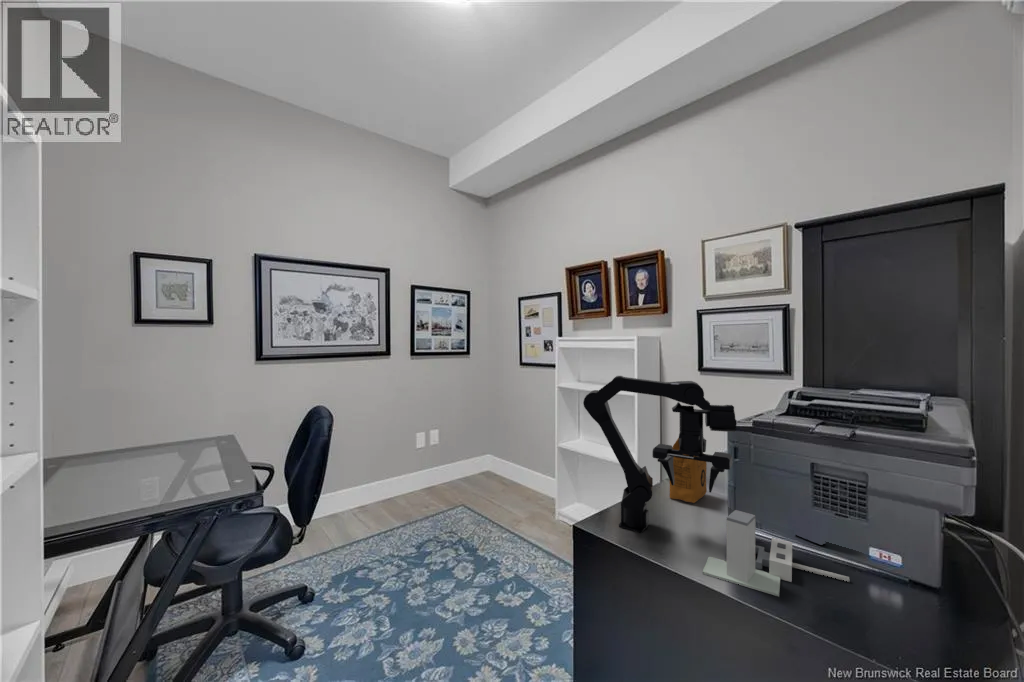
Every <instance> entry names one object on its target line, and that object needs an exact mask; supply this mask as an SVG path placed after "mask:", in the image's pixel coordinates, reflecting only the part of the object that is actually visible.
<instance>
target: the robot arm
mask: <svg viewBox="0 0 1024 682" xmlns="http://www.w3.org/2000/svg"><path fill="white" fill-rule="evenodd" d="M703 389H704V388H703V387H701V385H700V384H699V383H697V382H696V381H692V380H681V381H660V380H659V381H658V380H650V379H644V378H643V379H642V378H633V377H627V376H623V375H616V376H614V377H613V378H612V379H611V381H609V382H608V383H607V384H605V385H603V387H601V388H600V389H594V390H591V391H590V392H588V394H586V396H585V397H584V399H583V407H584V409H585V411H587V413H588V415H590V417H591V418H592V419H593V420H594V421H595V422H596V423H597V425H598V426H599V427H600V429H601V431H602V432H603V433H602V434H604V436H605V438H606V440H607V442H608V444H609V446H610V448H611V449H612V452H613V453H614V455H615V457H616V459H617V461H618V463H619V465H620V467H621V469H622V471H623V473H624V477H625V482H626V485H627V486H626V487H625V488H624V489H623V493H622V498H621V502H620V522H619V523H618V527H620V528H623V529H627V530H630V531H633V532H637V533H643V532H644V531H645V530H646V529H647V527H648V526H649V522H650V516H649V515H650V511H649V509H648V507H647V506H648V504H647V502H649V501H650V500H651V499H652V497H653V486H654V482H653V480H654V479H653V477H652V476H651V475H650V474H649V471H648V469H647V466H646V465H645V466H642V467H641V466H640V465H639V464H638V463H637V462H636V460H635V458H634V456H633V454H632V453H631V451H630V449H629V447H628V444H627V443H626V441H625V439H624V437H623V435H622V433H621V432H620V430H619V428H618V426H617V424H616V422H615V421H614V419H613V416H612V412H611V408H610V407H611V406H610V404H609V402H608V401H610V400H611V399H612V398H614V396H616V395H617V394H618V393H620V392H627V393H634V394H635V393H636V394H644V395H649V396H658V397H664V398H667V399H670V400H672V401H676V402H677V403H676V404H675V405H674V406H673V407H671V409H672V412H673V413H679V434H678V438H679V439H678V438H677V439H678V443H679V444H680V449H679V450H674V449H673V448H672V447H673V445H670V444H663V443H659V444H658V445H656V446H655V447H653V448H652V458H653V459H656V460H657V462H658V463H661V465H662V467H663V468H664V470H665V472H666V475H667V477H668V480H670V481H669V483H670V482H671V484H672V485H674V468H673V459H674V457H679V458H685V459H692V460H698V461H705V462H706V463H710V464H711V465H712V466H711V467H710V470H709V471H710V473H709V482H708V492H709V493H712V491H713V489H714V485H715V484H716V481H717V478H718V475H719V473H724V472H725V471H727V470H728V471H729V470H731V468H732V466H733V456H732V454H731V453H727V452H720V451H715V452H714V453H713V454H707V453H706V452H707V439H706V438H704V423H705V427H709V430H710V431H712V432H713V431H714V432H723V433H725V432H727V433H736V430H737V419H736V412H735V406H733V404H725V405H723V404H720V405H719V404H711V402H710V400H707V399H706V398H705V392H704V390H703ZM681 403H682V404H685V405H682V404H681ZM695 406H696V407H699V408H700V409H697V408H695ZM704 421H705V422H704ZM703 453H704V454H703ZM683 454H685V455H683ZM688 455H689V456H688ZM694 456H699V457H694Z"/></svg>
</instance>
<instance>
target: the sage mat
mask: <svg viewBox="0 0 1024 682" xmlns="http://www.w3.org/2000/svg"><path fill="white" fill-rule="evenodd" d="M702 575H705V576H708V577H712V578H716V579H718V578H719V580H721V581H725V580H726V581H725V582H728V581H729V582H728V583H732V584H735V585H738V584H739V586H742V587H745V588H749V589H753V590H756V591H759V592H763V593H765V594H769V595H773V596H775V597H778V598H780V590H781V589H780V588H781V579H780V577H779V576H776V575H772V574H769V572H767V571H764V570H760V569H756V568H755V574H754V575H753V576H752V577H751V579H750V580H749V581H748V583H746V582H743V581H741V580H738V579H736V578H733V577H731V576H728V575H727V560H723V559H719V558H716V557H712V556H708V558H707V561H706V563H705V565H704V567H703V570H702Z"/></svg>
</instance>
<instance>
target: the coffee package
mask: <svg viewBox="0 0 1024 682" xmlns="http://www.w3.org/2000/svg"><path fill="white" fill-rule="evenodd" d="M678 439H679V437H678V438H677V439H676V441H675V443H673V445H672V448H673V449H674V450H679V449H680V444H679V443H678ZM703 454H705V452H703ZM683 455H685V454H683ZM688 456H689V455H688ZM694 457H699V456H694ZM673 468H674V485H672V484H671V482H670V480H669V479H668V480H669V481H668V482H669V498H670V499H671V500H679V501H683V502H686V503H693V504H695V503H697V501H699V500H700V499H702V498H703V497H704V496H705V495H706V493H707V491H708V490H707V462H705V461H698V460H692V459H685V458H679V457H674V459H673Z"/></svg>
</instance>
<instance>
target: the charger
mask: <svg viewBox="0 0 1024 682" xmlns="http://www.w3.org/2000/svg"><path fill="white" fill-rule="evenodd" d="M755 545H756V515H755V514H752V513H748V512H744V511H741V510H737V509H735V510H733V511H732V512H731V513H730V514H729V515H728V516H727V517H726V561H727V575H728V576H731V577H733V578H736V579H738V580H741V581H743V582H746V583H748V581H749V580H750V579H751V577H752V576H753V575H754V574H755V569H756V568H755V560H756V553H755Z"/></svg>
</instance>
